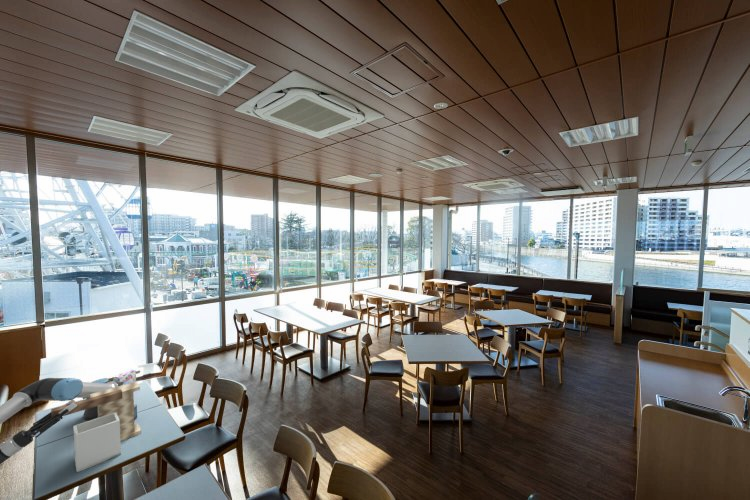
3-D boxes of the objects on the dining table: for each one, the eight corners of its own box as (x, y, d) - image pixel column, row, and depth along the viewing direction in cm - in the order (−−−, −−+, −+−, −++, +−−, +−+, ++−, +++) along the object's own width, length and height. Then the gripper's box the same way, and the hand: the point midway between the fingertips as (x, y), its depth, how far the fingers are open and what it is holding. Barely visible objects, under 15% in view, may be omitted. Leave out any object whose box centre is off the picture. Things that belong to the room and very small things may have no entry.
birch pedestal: (93, 451, 176) (91, 400, 174) (91, 443, 182) (89, 394, 181) (141, 433, 192) (139, 386, 191) (137, 426, 199) (136, 381, 197)
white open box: (76, 472, 160) (75, 435, 159) (74, 461, 168) (73, 425, 167) (120, 454, 173) (119, 420, 172) (117, 444, 181) (116, 411, 181)
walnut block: (51, 419, 155) (51, 412, 155) (51, 416, 158) (51, 408, 158) (122, 398, 176) (122, 391, 176) (121, 395, 179) (120, 389, 179)
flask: (134, 416, 209) (133, 401, 209) (138, 416, 210) (138, 401, 209) (125, 425, 200) (124, 409, 200) (130, 424, 201) (129, 408, 200)
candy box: (119, 398, 232) (118, 377, 231) (113, 398, 233) (112, 376, 232) (136, 389, 245) (136, 369, 245) (130, 389, 247) (130, 369, 246)
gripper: (10, 446, 141) (71, 403, 156) (12, 430, 153) (68, 392, 167) (23, 455, 144) (81, 413, 159) (24, 439, 156) (78, 401, 170)
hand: (74, 402), depth 163 cm, fingers closed on walnut block, 4 cm apart
